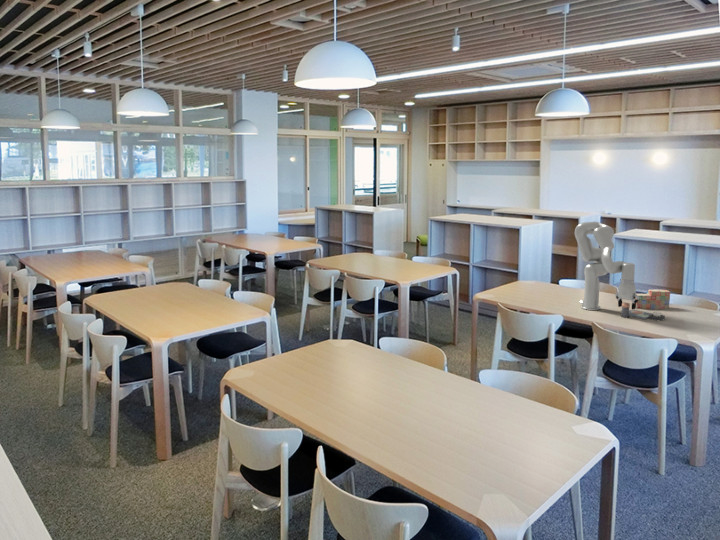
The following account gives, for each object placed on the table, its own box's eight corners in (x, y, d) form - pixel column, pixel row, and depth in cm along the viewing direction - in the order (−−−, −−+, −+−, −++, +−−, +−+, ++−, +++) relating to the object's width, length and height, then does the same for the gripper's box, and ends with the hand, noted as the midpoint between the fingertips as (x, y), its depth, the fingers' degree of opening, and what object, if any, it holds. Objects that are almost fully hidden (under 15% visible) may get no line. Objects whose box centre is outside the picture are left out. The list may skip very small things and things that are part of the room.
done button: (651, 316, 381) (651, 312, 380) (655, 315, 383) (656, 311, 383) (658, 317, 377) (658, 314, 377) (662, 316, 379) (662, 312, 379)
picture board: (620, 313, 395) (620, 312, 394) (633, 310, 402) (633, 309, 401) (644, 319, 380) (644, 317, 380) (657, 316, 387) (657, 314, 387)
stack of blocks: (636, 308, 408) (637, 291, 405) (633, 306, 414) (634, 289, 411) (669, 309, 405) (670, 291, 403) (665, 306, 411) (666, 289, 409)
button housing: (648, 318, 382) (649, 315, 381) (655, 317, 385) (655, 313, 384) (658, 320, 376) (658, 317, 376) (664, 319, 379) (665, 315, 379)
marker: (619, 316, 387) (620, 303, 386) (624, 315, 390) (624, 302, 388) (625, 318, 383) (626, 304, 382) (630, 317, 386) (631, 303, 384)
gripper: (612, 280, 387) (611, 306, 390) (636, 284, 373) (635, 310, 375) (619, 279, 391) (618, 304, 394) (643, 283, 377) (642, 309, 379)
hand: (626, 307), depth 385 cm, fingers open, 9 cm apart
